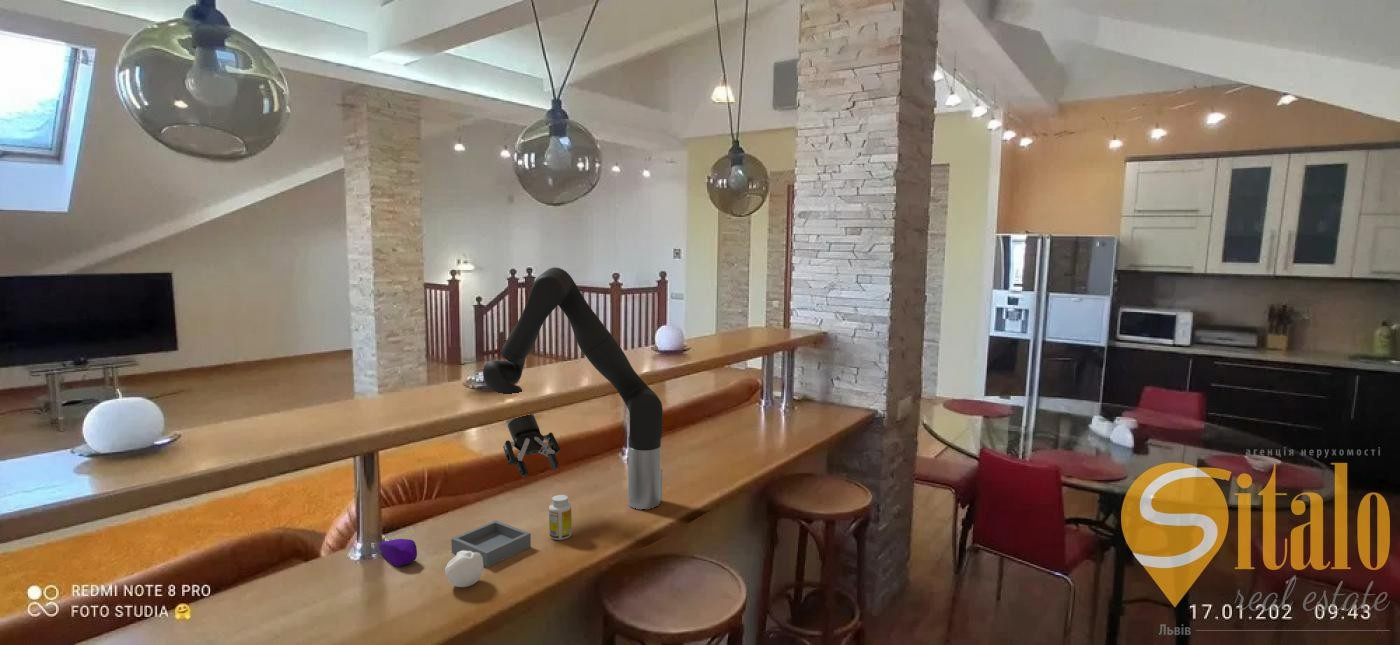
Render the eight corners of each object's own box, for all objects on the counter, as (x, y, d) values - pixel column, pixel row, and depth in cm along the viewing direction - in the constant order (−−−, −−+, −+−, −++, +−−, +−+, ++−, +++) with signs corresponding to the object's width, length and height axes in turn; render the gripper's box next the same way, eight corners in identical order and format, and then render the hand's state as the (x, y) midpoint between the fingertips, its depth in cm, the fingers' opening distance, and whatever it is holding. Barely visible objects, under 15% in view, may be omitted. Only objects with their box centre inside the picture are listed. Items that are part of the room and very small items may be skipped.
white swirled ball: (472, 572, 146) (471, 539, 145) (491, 583, 141) (491, 550, 141) (439, 586, 140) (438, 552, 139) (457, 598, 135) (457, 563, 134)
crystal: (388, 531, 158) (423, 541, 149) (390, 551, 158) (425, 562, 149) (368, 538, 154) (403, 549, 145) (370, 558, 154) (405, 570, 146)
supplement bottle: (572, 531, 168) (572, 493, 167) (570, 540, 163) (570, 501, 162) (550, 531, 168) (550, 493, 167) (547, 541, 162) (547, 502, 161)
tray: (496, 533, 166) (495, 520, 166) (530, 546, 159) (530, 533, 159) (451, 552, 156) (451, 538, 155) (486, 567, 148) (486, 553, 148)
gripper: (500, 417, 172) (520, 470, 164) (548, 409, 181) (569, 459, 174) (492, 432, 176) (511, 485, 169) (540, 423, 186) (560, 473, 178)
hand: (540, 472), depth 171 cm, fingers open, 8 cm apart
